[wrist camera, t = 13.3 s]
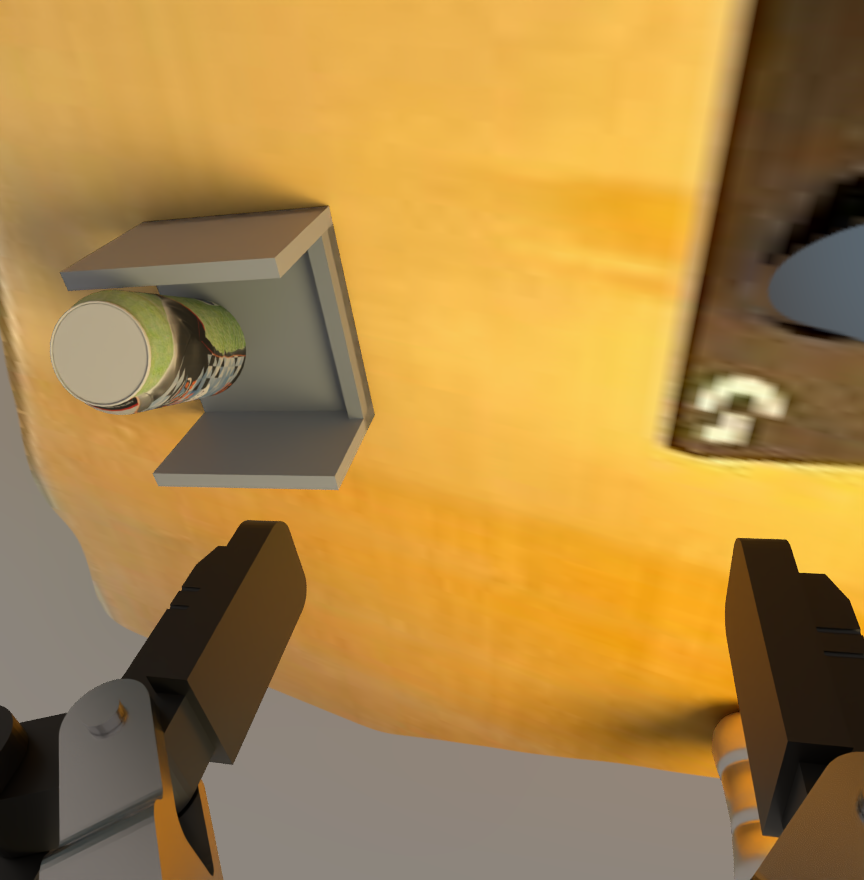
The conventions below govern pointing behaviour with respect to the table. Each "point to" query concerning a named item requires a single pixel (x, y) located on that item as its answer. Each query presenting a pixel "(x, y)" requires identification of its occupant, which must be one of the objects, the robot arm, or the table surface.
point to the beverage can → (145, 350)
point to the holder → (257, 343)
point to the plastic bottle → (740, 797)
